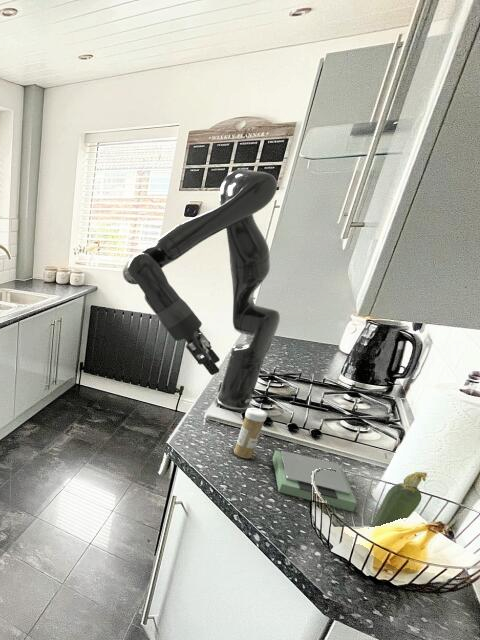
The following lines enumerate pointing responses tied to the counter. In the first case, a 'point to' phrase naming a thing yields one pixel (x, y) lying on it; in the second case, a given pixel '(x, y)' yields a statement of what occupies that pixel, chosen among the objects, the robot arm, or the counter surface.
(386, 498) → the vegetable
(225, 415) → the counter surface
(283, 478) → the scale
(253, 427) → the sprinkles bottle
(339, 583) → the counter surface
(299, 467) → the pan
